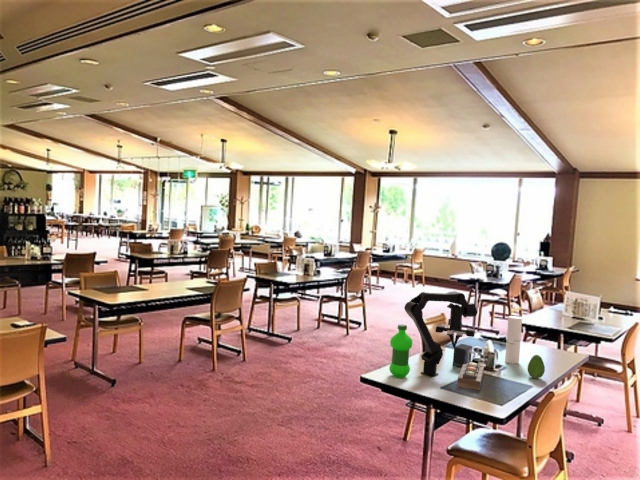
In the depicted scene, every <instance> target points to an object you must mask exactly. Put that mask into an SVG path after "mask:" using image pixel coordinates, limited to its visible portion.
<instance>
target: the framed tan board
mask: <svg viewBox="0 0 640 480" xmlns="http://www.w3.org/2000/svg"><path fill="white" fill-rule="evenodd" d="M467 367H474V366H469V363H467V364H463V366H462V368H460V372H459V374H458V377H457V381H456V382H457V384H456V385H457V386H456V387H457V388H463V389H470V390H475V389H476V390H475V391H480V390H481V386H482V381H483V377H484V370H485V369H484V367H485V366H482V365H481V366H480V364H479V363H477V367H475V368H476V371H472V372H474V373H475V375H474V376H472V375H466V371H471V370H467Z"/></svg>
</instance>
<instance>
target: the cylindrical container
mask: <svg viewBox="0 0 640 480" xmlns="http://www.w3.org/2000/svg"><path fill="white" fill-rule="evenodd" d="M522 325H523V318H522V316H517V315H516V316H515V315H509V316H508V317H507V330H506V331H507V332H506V333H507V334H506V344H505V356H504V361H505V362H506V363H508V364H513V363H517V364H519V363H520V353H521V352H520V350H521V339H522V327H523V326H522Z"/></svg>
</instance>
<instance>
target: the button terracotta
mask: <svg viewBox="0 0 640 480" xmlns="http://www.w3.org/2000/svg"><path fill="white" fill-rule="evenodd" d="M467 370H471V371H476V368H475V367H467Z"/></svg>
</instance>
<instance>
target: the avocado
mask: <svg viewBox="0 0 640 480" xmlns="http://www.w3.org/2000/svg"><path fill="white" fill-rule="evenodd" d="M545 367H546V366H545V364H544V361H543V358H542V357H541V356H540V355H538V354H534V355H532V357H531V358H530V361H529V362H528V364H527V373H528V375H529V376H530V377H531V378H533V379H536V380H537V379H540V378H541V377H543V376H544V375H545V372H546V370H545Z"/></svg>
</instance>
